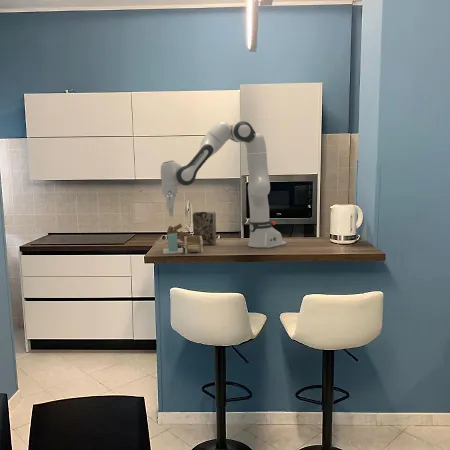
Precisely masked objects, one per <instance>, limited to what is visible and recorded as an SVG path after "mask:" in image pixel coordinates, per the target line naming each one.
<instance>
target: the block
mask: <svg viewBox="0 0 450 450" xmlns="http://www.w3.org/2000/svg"><path fill="white" fill-rule="evenodd" d="M167 245H168V247H167V249H169V251H178V248H179V247H178V236H177V233H176V234H167Z"/></svg>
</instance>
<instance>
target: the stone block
mask: <svg viewBox="0 0 450 450" xmlns="http://www.w3.org/2000/svg"><path fill="white" fill-rule="evenodd" d="M216 216H217V214H216V211H213V210H212V211H210V210H207V211H206V210H205V211H203V210H201V211H200V210H198V211H193V214H192V224H193V225H192V230H193V236H202V239H203V246H204V245H205V246H206V245H207V246H209V245H210V246H211V245H212V246H214V245H216V244H217V222H216V221H217V220H216V219H217V217H216Z"/></svg>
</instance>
